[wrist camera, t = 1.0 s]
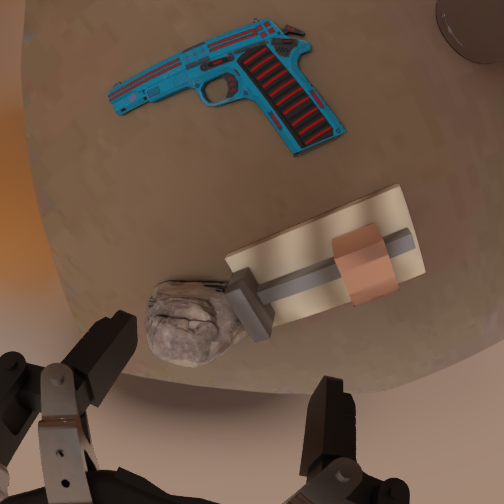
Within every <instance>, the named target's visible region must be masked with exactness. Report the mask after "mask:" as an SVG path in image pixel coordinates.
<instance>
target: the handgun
mask: <svg viewBox="0 0 504 504" xmlns="http://www.w3.org/2000/svg"><path fill="white" fill-rule="evenodd" d="M254 20H255V21H254V22H253V23H252V24H249V25H246V26H243V27H240V28H238V29H235V30H232V31H229V32H227V33H224V34H221V35H219V36H216V37H214V38H211V39H209V40H207V41H204V42H202V43H199V44H197V45H195V46H193V47H190V48H188V49H186V50H184V51H182V52H179V53H177V54H175V55H173V56H171V57H169V58H167V59H165V60H163V61H161V62H159V63H157V64H155V65H153V66H151V67H149V68H148V69H146V70H144V71H142V72H140V73H138V74H137V75H135V76H133V77H131V78H130V79H128V80H126V81H124V82H123V83H121V82H118V83H117V84H115V85H114V86H113V89H111V90H110V91H109V93H108V98H109V101H110V103H111V104H113V106H114V110H115V112H116V113H117V114H118V115H119V116H122V115H124V114H125V113H127V112H129V111H131V110H133V109H135V108H137V107H139V106H141V105H143V104H145V103H147V102H150V103H154V102H158V101H160V100H163V99H165V98H167V97H169V96H172V95H174V94H176V93H179V92H181V91H183V90H186V89H188V88H194V89H196V90H197V92H198V94H199V96H200V99H201V101H203V102H204V103H205V104H206V105H207V106H220V105H223V104H226V103H230V102H233V101H237V100H240V99H244V98H248V99H251V100H253V101H255V102H256V103H257V104H258V106H259V107H260V108H261V110H262V111H263V112H264V114H265V115H266V117H267V118H268V119H269V121H270V122H271V124H272V125H273V126H274V128H275V129H276V131H277V132H278V133H279V135H280V136H281V138H282V139H283V141H284V142H285V143H286V145H287V146H288V148H289V149H290V151H291V152H292V154H293V153H296V152H298V153H296V154H294V155H293V156H294V157H296V156H298V155H301V154H303V153H305V152H307V151H309V150H311V149H313V148H316V147H318V146H320V145H322V144H324V143H327V142H329V141H331V140H333V139H335V138H338V137H340V136H339V134H342V133H344V132H346V130H345V128H344V127H343V125H342V124H341V123H340V121H339V120H338V118H337V117H336V116H335V114H334V113H333V112H332V110H331V109H330V108H329V106H328V105H327V104H326V102H325V101H324V100H323V98H322V97H321V96H320V95H319V93H318V92H317V91H316V90H315V88H314V87H313V86H312V85H311V83H310V82H309V81H308V80H307V78H306V77H305V76H304V75H303V74H302V72H301V71H300V70H299V69H298V60H299V58H300V56H301V55H302V54H304V53H306V52H309V51H311V47H312V45H311V44H310V43H309V42H307V41H305V40H297V39H292V38H290V37H288V36H286V35H287V34H288V33H292V34H297V35H301V36H304V35H305V32H303V31H301V30H298V29H296V28H294V27H291V26H289V25H286V26H285V27H284V29H283V30H282V31H281V30H280V29H279V28H278V27H277V26H276V25H275V24H274V23H273V22H272V21H271V20H270V19H269V18H268V19H264V20H261V21H259V20H257V18H255V19H254ZM221 76H222V77H223V78H224V79H225V80H226V81H227V84H228V92H227V95H226V97H227V98H228V97H231V98H228V99H225V100H222V101H220V102H217V103H211V102H210V101H209V100H208V99H207V98H206V95H205V93H204V90H203V89H204V88H205V86H206V84H207V83H208V82H210V81H212V80H214V79H217V78H219V77H221Z"/></svg>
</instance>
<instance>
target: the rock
mask: <svg viewBox="0 0 504 504" xmlns="http://www.w3.org/2000/svg"><path fill="white" fill-rule="evenodd" d="M228 284H229V282H203V283H199V282H184V283H182V282H172V281H169V282H164V283H162V284H158V285H157V287H155V289H154V291H153V293H152V296H151V298H149V299H148V301H147V308H146V311H145V313H146V318H145V322H144V328H145V333H146V337H147V339H148V343H149V346H150V349H151V350H152V352H153V353H154V354H156V356H158V357H159V358H160V359H162V360H165V361H168V362H170V363H174V364H177V365H181V366H187V367H193V368H194V367H197V366H201V365H203V364H206V363H208V362H210V361H212V360H215V358H217V357H219V356H221V355H222V354H224V353H225V352H226V351H227V350H228V349H229V348H230V347H231V346H234V345H236V344H237V343H239V342H241V341H242V340H244V339H245V338H246V337H247V336H248V335H249V333H248V332H247V330H246V329H245V327H244V326H243V324H242V323H241V321H240V320H239V318H238V317H237V315H236V314H235V312H234V310H233V309H232V307H231V306H230V304H229V303H228V301H227V300H226V298H225V296H224V292H225V290H226V288H227V286H228Z"/></svg>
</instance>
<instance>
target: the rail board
mask: <svg viewBox="0 0 504 504" xmlns="http://www.w3.org/2000/svg"><path fill="white" fill-rule="evenodd" d="M372 223H375V224H376V226H377V228H378V230H379V232H380V234H381V236H382V238H383V240H384V243H385V246H386V249H387V252H388V255H389V258H390V261H391V264H392V267H393V270H394V274H395V277H396V280H397V283H398V284H399V283H401V282H404V281H406V280H409V279H411V278H414V277H416V276H419V275H421V274H423V273H426V272H425V268H424V263H423V260H422V256H421V252H420V248H419V245H418V241H417V237H416V234H415V231H414V227H413V224H412V221H411V217H410V214H409V211H408V208H407V205H406V202H405V199H404V196H403V193H402V190H401V187H400V185H398V184H397V183H396V184H394V185H392V186H389V187H387V188H384V189H382V190H379V191H377V192H375V193H372V194H370V195H367V196H365V197H362V198H360V199H358V200H355V201H353V202H350V203H348V204H345V205H343V206H341V207H338V208H336V209H333V210H331V211H329V212H326V213H324V214H321V215H319V216H317V217H314V218H312V219H309V220H307V221H305V222H302V223H300V224H297V225H295V226H293V227H290V228H288V229H285V230H283V231H281V232H278V233H276V234H274V235H271V236H269V237H266V238H264V239H262V240H259V241H257V242H255V243H252V244H250V245H247V246H245V247H243V248H240V249H238V250H236V251H233V252H231V253H228V254H227V255H226V257H225V260H226V262H227V263H228V265H229V267H230V268H231V270H232V272H233V275H232V277H231V279H230V282H229V284H228V286H227V288H226V290H225V292H224V296H225V298H226V300H227V301H228V303H229V304H230V306H231V307H232V309H233V310H234V312H235V314H236V315H237V317H238V318H239V320H240V321H241V323H242V324H243V326H244V327H245V329H246V330H247V332H248V333H249V335H250V336H251V338H252V339H253V341H254V342H258V341H261V340H265V339H268V338H270V336H271V331H272V327H275V326H279V325H282V324H285V323H288V322H291V321H295V320H298V319H301V318H304V317H307V316H310V315H313V314H316V313H319V312H322V311H325V310H328V309H331V308H334V307H337V306H340V305H342V304H345V303H348V302H351V301H352V300H351V298H350V296H349V293H348V291H347V288H346V286H345V284H344V281H343V279H342V276H341V274H340V272H339V269H338V267H337V265H336V263H335V260H334V254H333V246H332V240H333V239H335V238H338V237H340V236H343V235H345V234H348V233H350V232H353V231H355V230H358V229H360V228H363V227H365V226H368V225H370V224H372Z"/></svg>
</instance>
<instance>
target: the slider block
mask: <svg viewBox="0 0 504 504" xmlns="http://www.w3.org/2000/svg"><path fill="white" fill-rule="evenodd" d="M332 246H333V254H334V260H335V263H336V265H337V267H338V269H339V272H340V274H341V276H342V279H343V281H344V284H345V286H346V288H347V291H348V293H349V296H350V298H351V300H352V303H353V305H354V306H356V305H359V304H362V303H365V302H367V301H370V300H373V299H376V298H378V297H381V296H384V295H386V294H389V293H391V292H394V291H397V290H399V287H398V283H397V280H396V277H395V274H394V270H393V267H392V264H391V261H390V258H389V255H388V252H387V249H386V246H385V243H384V240H383V238H382V236H381V234H380V232H379V230H378V228H377V226H376V224H375V223H372V224H370V225H368V226H365V227H363V228H360V229H358V230H355V231H353V232H350V233H348V234H345V235H343V236H340V237H338V238H335V239H333V240H332Z"/></svg>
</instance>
